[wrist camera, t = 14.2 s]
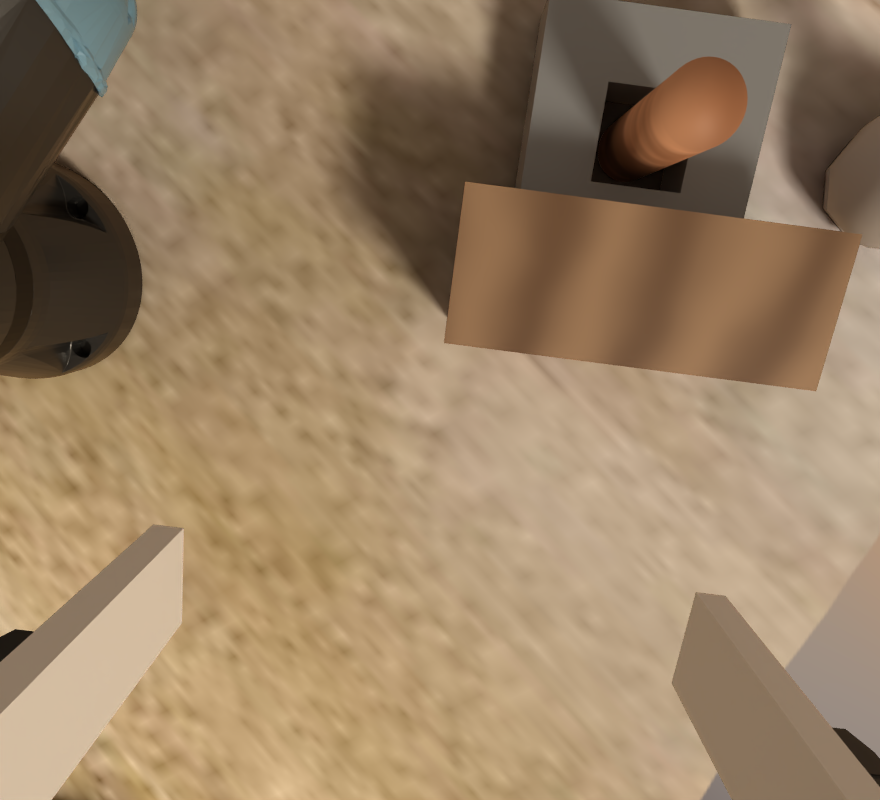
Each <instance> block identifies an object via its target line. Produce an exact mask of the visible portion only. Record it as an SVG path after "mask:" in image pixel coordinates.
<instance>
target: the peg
mask: <svg viewBox="0 0 880 800" xmlns="http://www.w3.org/2000/svg"><path fill="white" fill-rule="evenodd" d="M747 100H748V96H747V88H746V84H745V81H744V79H743V77H742V75H741V73H740V72H739V71H738V69H737V68H736V67H735V66H734V65H732V64H731V63H730V62H728V61H726V60H724V59H721V58H718V57H709V56H708V57H701V58H697V59H694V60H691V61H690V62H688V63H686V64H684V65H683V66H682V67H680V68H679V69H678V70H677V71H676V72H674V73H673V74H672V75H671V76H669V77H668V78H667V79H666V80H665V81H663V82H662V83H661V84H660V85H659V86H657V87H656V88H655V89H654V90H653V91H651V92H650V93H649V94H648V95H647V96H645V97H644V98H643V99H642V100H640V101H639V102H638V103H637V104H636V105H634V106H633V107H632V108H631V109H630V110H628V111H627V112H626V113H625V114H624V115H622V116H621V117H620V118H619V119H618V120H616V121H615V122H614V123H613V124H611V125H610V126H609V127H608V128H607V129H606V130H605V132H604V133H603V135H602V137H601V139H600V142H599V145H598V160H599V163H600V166H601V168H602V169H603V171H604V172H605V173H606V174H607V175H608V176H609V177H610V178H612V179H614V180H617V181H621V182H630V181H634V180H637V179H639V178H642V177H644V176H646V175H649V174H651V173H654V172H656V171H658V170H661V169H663V168H666V167H668V166H670V165H673V164H675V163H678V162H680V161H682V160H685V159H687V158H690V157H692V156H694V155H697V154H699V153H702V152H704V151H706V150H709V149H711V148H714V147H716V146H718V145H720V144H722V143H723V142H725V141H726V140H727V139H729V138H730V137H731V136H732V135H733V134H734V133H735V132H736V130H737V129H738V127H739V126H740V124H741V122H742V120H743V118H744V115H745V112H746V108H747Z"/></svg>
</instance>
